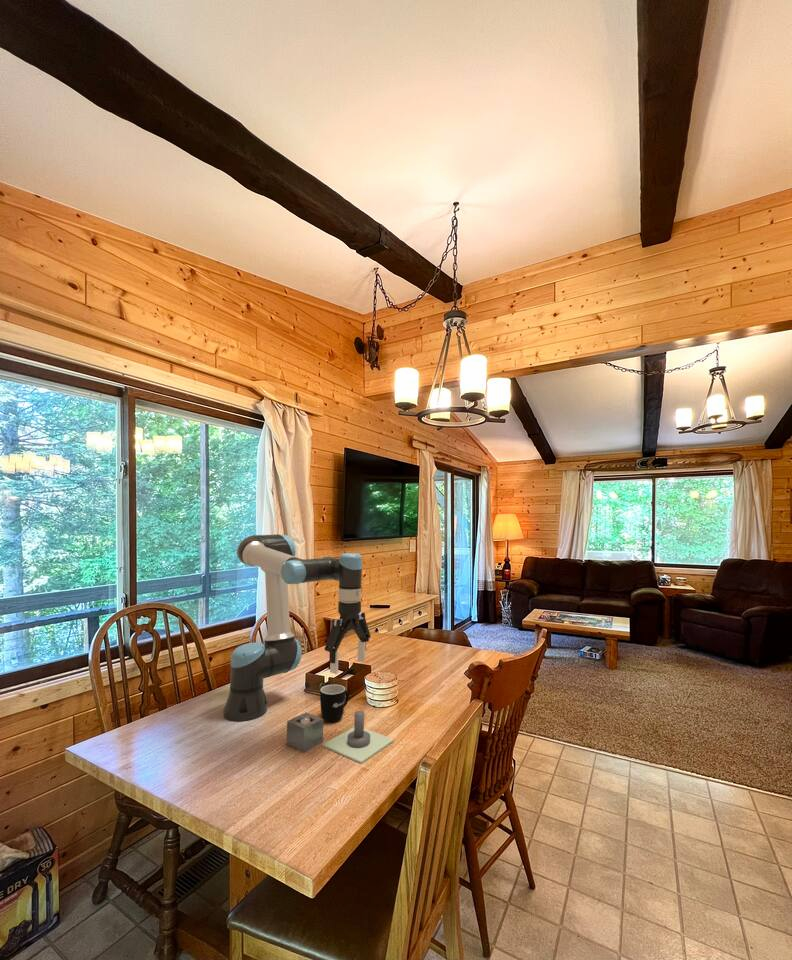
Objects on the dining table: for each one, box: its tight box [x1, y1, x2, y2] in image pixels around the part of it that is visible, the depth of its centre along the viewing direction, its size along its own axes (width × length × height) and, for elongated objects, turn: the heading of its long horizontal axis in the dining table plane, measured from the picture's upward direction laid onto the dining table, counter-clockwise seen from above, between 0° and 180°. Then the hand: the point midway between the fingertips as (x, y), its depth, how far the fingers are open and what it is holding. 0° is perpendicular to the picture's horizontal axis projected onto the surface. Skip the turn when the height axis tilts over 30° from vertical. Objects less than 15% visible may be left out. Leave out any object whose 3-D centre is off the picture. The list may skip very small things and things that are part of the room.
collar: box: [286, 711, 324, 753], centre depth 138 cm, size 8×8×7 cm
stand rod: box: [300, 716, 310, 725], centre depth 138 cm, size 3×3×8 cm
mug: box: [319, 684, 349, 723], centre depth 156 cm, size 12×9×10 cm
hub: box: [322, 710, 395, 765], centre depth 138 cm, size 16×16×9 cm
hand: (348, 667), depth 142 cm, fingers open, 13 cm apart
